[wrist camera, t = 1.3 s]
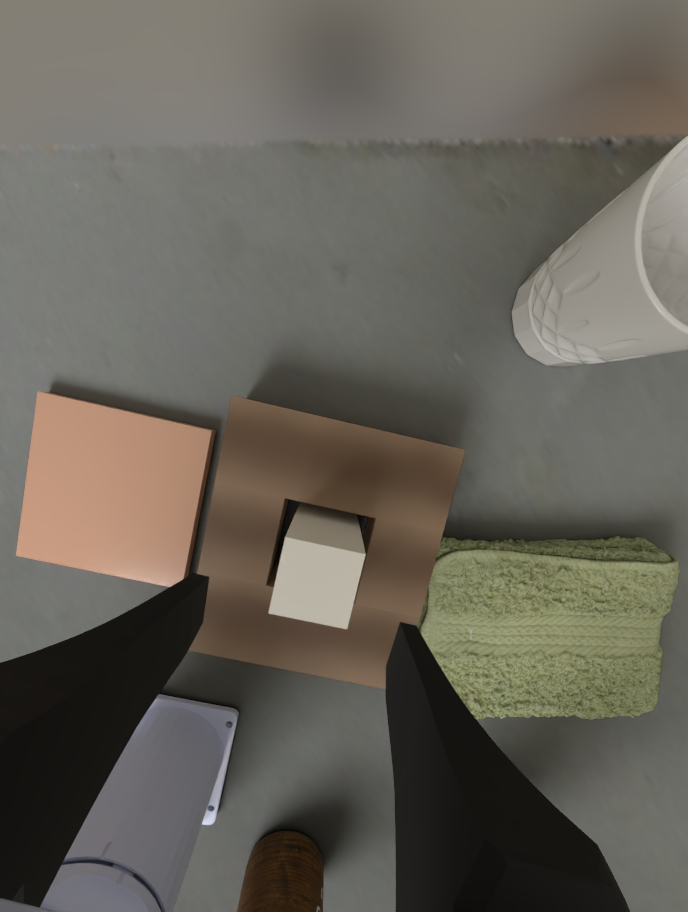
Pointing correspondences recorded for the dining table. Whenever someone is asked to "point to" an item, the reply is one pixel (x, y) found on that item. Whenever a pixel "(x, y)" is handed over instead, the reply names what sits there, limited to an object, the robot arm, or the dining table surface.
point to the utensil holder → (283, 875)
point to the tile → (113, 490)
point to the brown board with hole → (333, 486)
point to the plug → (319, 567)
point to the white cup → (615, 278)
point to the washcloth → (550, 624)
